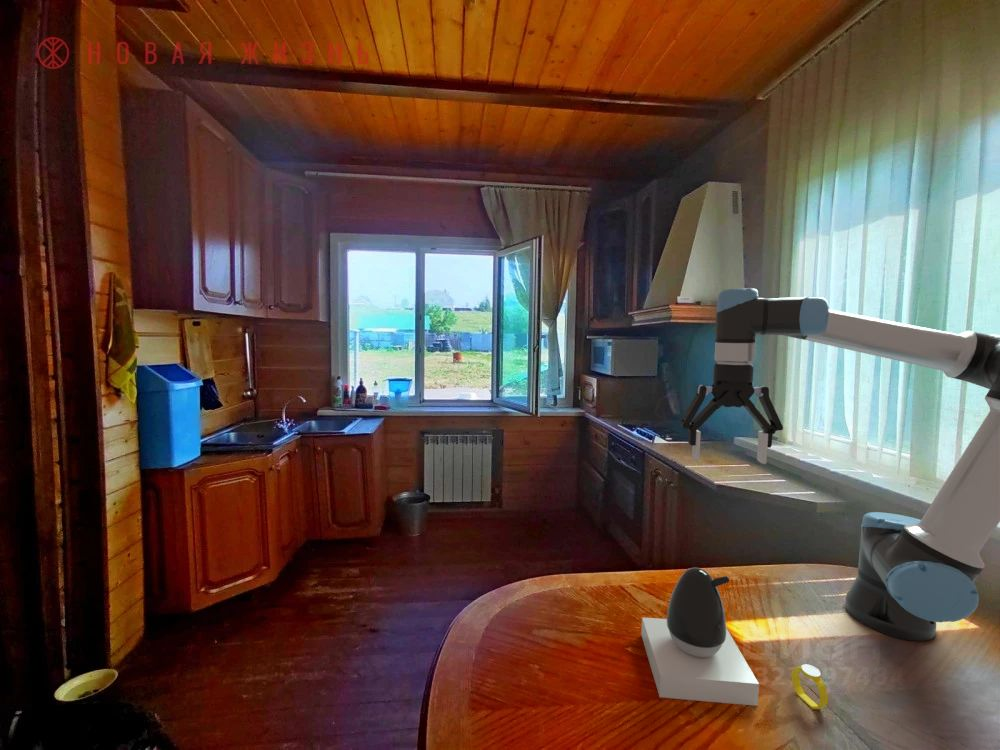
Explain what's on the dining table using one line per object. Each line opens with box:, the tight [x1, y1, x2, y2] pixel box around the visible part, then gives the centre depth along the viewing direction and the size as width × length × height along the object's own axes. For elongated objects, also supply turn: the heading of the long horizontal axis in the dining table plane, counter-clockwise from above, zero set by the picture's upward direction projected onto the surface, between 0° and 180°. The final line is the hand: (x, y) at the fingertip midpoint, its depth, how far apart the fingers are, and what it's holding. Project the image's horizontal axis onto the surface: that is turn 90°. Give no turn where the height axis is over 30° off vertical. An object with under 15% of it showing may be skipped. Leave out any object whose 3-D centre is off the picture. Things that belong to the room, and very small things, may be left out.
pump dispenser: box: [666, 567, 730, 657], centre depth 85 cm, size 10×10×15 cm
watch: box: [790, 663, 829, 710], centre depth 78 cm, size 6×3×6 cm, turn 12°
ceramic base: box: [640, 617, 760, 707], centre depth 86 cm, size 16×16×4 cm
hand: (728, 461), depth 99 cm, fingers open, 13 cm apart
